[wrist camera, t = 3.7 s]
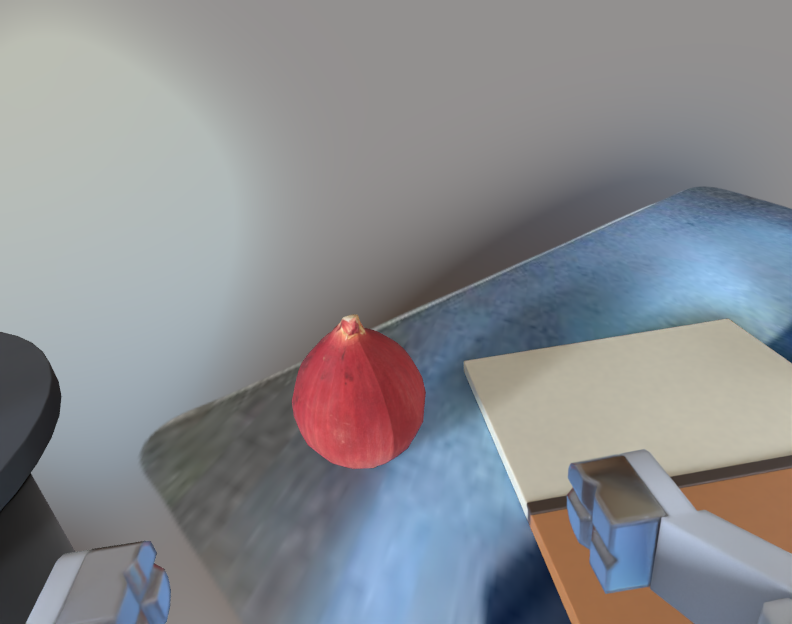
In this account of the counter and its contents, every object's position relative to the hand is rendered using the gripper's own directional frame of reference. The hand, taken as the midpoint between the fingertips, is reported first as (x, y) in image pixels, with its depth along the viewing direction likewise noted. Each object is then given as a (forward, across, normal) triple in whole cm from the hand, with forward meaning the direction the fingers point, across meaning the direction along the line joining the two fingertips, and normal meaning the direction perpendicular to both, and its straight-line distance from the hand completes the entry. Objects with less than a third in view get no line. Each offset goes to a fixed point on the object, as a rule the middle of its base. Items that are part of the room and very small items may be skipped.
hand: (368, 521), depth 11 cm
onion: (+12, 0, +10) cm, 16 cm away
